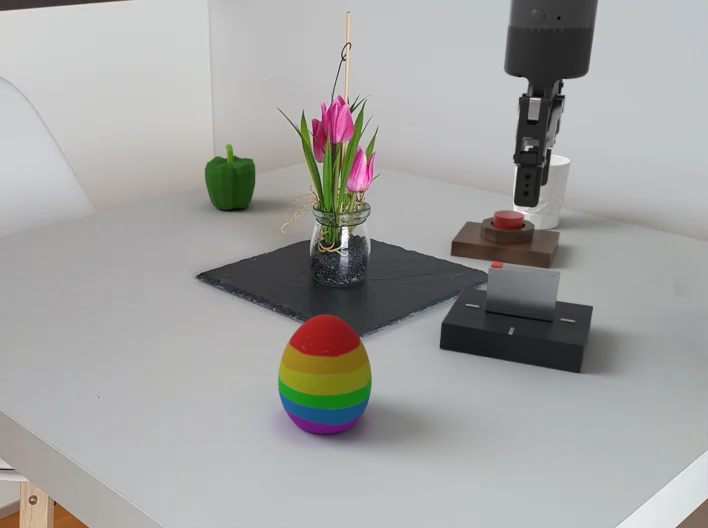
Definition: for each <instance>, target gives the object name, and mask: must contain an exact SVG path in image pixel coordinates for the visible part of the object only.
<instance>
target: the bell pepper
mask: <svg viewBox="0 0 708 528" xmlns="http://www.w3.org/2000/svg"><path fill="white" fill-rule="evenodd" d="M225 149H226V158H224V157H223V156H218V155H216V156H214V157H213V158H212V159H210V161H207V162H206V165H205V167H204V180H205V185H206V190H207V193H208V196H209V197H208V198H209V200H210V203H211V204H212V206H213V207H214V208H216V209H218V210H224V211H228V210H232V209H246V208H248V207H249V206H250V204H251V202H252V199H253V195H254V192H255V191H254V190H255V187H256V163H255V162H254V159H253V158H249V157H242V158H241V157H239V156H238V155H234V150H233V145H232V144H230V143H228V144H226V145H225Z"/></svg>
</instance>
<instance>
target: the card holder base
mask: <svg viewBox="0 0 708 528" xmlns="http://www.w3.org/2000/svg"><path fill="white" fill-rule="evenodd" d="M486 291H487V289H486V290H485V289H480V288H471V287H465V286H464V287H463V288H462V289H461V291H460V293H459V294H458V296H457V297H456V299H455V301H454V302H453V303H452V306H451V307H450V308H449V310H448V312H447V313H446V315H445V316H444V318H443V320H442V321H441V325H440V337H439V349H441V350H447V351H453V352H458V353H465V354H470V355H475V356H481V357H487V358H492V359H498V360H504V361H509V362H515V363H521V364H526V365H532V366H538V367H542V368H543V367H544V368H550V369H553V370H554V369H555V370H560V371H566V372H570V373H571V372H572V373H578V374H581V371H582V366H583V361H584V357H585V352H586V348H587V344H588V339H589V336H590V331H591V326H592V317H593V312H594V306H593V305H588V304H581V303H575V302H568V301H562V300H557V302H556V309H555V316H554V319H553V321H547V320H540V319H534V318H527V317H521V316H515V315H508V314H502V313H495V312H489V311H485V300H486Z"/></svg>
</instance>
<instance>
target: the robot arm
mask: <svg viewBox="0 0 708 528" xmlns="http://www.w3.org/2000/svg"><path fill="white" fill-rule="evenodd" d="M598 4H599V0H510V2H509V11H508V20H507V21H508V22H507V32H506V41H505V42H506V44H505V52H504V62H503V63H504V64H503V70H504V72H505V74H506V75H508V76H511V77H514V78H524V79H526V80H527V82H528V85H527V90H526V92H522V93H521V96H518V100H517V106H516V111H517V112H516V113H517V121H516V127H515V132H514V140H515V141H514V142H515V149H514V153H513V155H512V160H513V164H514V165H515V164H516V166H518V167H517V175H516V184H515V194H514V204H515V205H516V206H520V207H531V208H534V207H536V206H537V205H538V203H539V197H540V188H541V186H544V185H546V184H547V181H548V175H549V167H550V159H551V155H552V150H553V148H554V146H555V145H556V141H557V139H556V138H557V136H558V134H559V133H560V130H561V124H562V115H563V113H564V111H565V105H566V99H567V97H566V94H562V93H563V91H562V90H563V88H564V85H565V83H564V80H574V79H575V80H576V79H579V78H582V77H585V76H586V75H587V74H588V73H589V70H590V66H591V65H590V64H591V56H592V49H593V42H594V35H595V27H596V20H597V12H598ZM527 146H528V149H527V150H526V147H527Z"/></svg>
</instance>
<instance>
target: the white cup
mask: <svg viewBox="0 0 708 528" xmlns="http://www.w3.org/2000/svg"><path fill="white" fill-rule="evenodd" d="M571 163H572V160H571V159H570V158H568V157H565V156H562V155H558V154H551V159H550V167H549V175H548V181H547V184H546V185H544V186H541V188H540V197H539V203H538V205H537V206H536V207H534V208H531V207H520V206H516V205H515V204H514V194H515V184H516V175H517V167H518V166H516V164H514V172H513V173H514V174H513V188H512V195H513V196H512V206H513V207H512V211H516V212H520V213H522V214H524V220H527V221H530V222H531V223H533V224H534V225H535V228H534V229H538V230H551V229H556V228H557V227H558V226H559V222H560V218H561V213H562V211H561V210H562V208H563V205H564V199H565V195H566V190H567V186H568V184H567V183H568V179H569V174H570V173H569V172H570V168H571Z"/></svg>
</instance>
